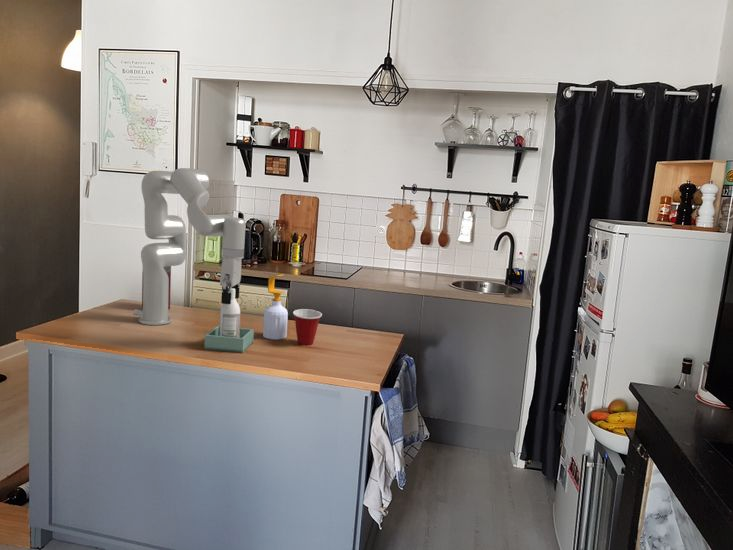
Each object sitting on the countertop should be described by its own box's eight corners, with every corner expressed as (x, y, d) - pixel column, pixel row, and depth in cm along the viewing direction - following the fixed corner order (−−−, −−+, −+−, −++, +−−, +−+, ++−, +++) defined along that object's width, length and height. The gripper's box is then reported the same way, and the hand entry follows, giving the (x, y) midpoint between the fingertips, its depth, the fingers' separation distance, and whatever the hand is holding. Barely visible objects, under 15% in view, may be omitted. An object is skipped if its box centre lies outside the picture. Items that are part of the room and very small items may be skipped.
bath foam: (242, 344, 207) (244, 290, 204) (224, 347, 203) (226, 291, 200) (233, 339, 213) (235, 286, 210) (215, 342, 208) (217, 287, 205)
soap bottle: (279, 341, 218) (282, 277, 214) (258, 337, 221) (261, 274, 217) (290, 336, 227) (294, 274, 223) (270, 332, 230) (273, 271, 226)
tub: (204, 349, 202) (204, 335, 201) (217, 339, 215) (217, 326, 214) (242, 352, 201) (243, 338, 200) (253, 342, 214) (253, 329, 213)
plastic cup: (297, 348, 211) (299, 316, 209) (287, 340, 220) (288, 309, 219) (324, 346, 216) (326, 315, 214) (313, 338, 225) (315, 308, 224)
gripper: (229, 249, 212) (227, 294, 214) (214, 255, 194) (211, 304, 197) (250, 251, 211) (247, 297, 214) (236, 257, 194) (233, 307, 197)
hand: (230, 300), depth 206 cm, fingers open, 9 cm apart
